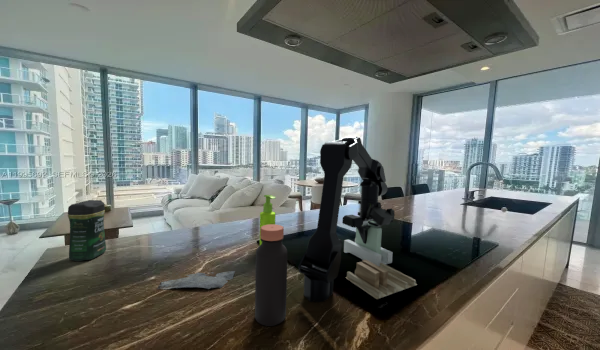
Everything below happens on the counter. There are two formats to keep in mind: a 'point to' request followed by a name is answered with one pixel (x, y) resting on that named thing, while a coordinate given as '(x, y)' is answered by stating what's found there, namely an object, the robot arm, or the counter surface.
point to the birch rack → (394, 283)
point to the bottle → (271, 276)
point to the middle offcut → (383, 273)
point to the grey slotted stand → (368, 253)
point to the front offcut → (368, 274)
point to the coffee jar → (86, 230)
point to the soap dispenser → (267, 213)
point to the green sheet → (371, 238)
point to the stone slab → (198, 281)
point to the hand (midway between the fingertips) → (367, 242)
